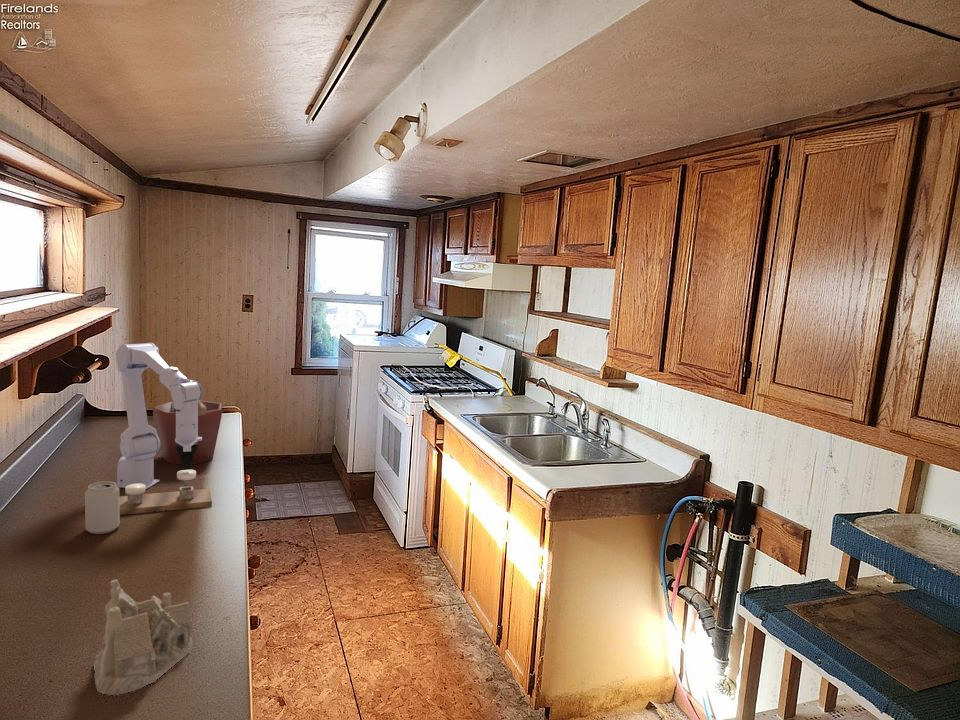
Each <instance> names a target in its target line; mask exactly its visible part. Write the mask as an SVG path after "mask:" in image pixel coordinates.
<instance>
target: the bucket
mask: <svg viewBox="0 0 960 720" xmlns="http://www.w3.org/2000/svg"><path fill="white" fill-rule="evenodd" d="M222 415H223V403H221V402H214V401H208V400H202V399H200V400H198V437H202V441H197V442H196V443H197V447H198V448H197V450H196V452H195V454H194V457H193V461H192V465H195V464H198V463H199V464H200V463H203V462H207V461H211V460H213V458H214V455H215V450H216V445H217V441H218V437H219V430H220V425H221V420H222ZM152 418H153V421H154V426H155V429H156V431H157V435H158V437H159V439H160V453H161V456H162V459H163V460H165V461H166V462H168V463H170V464H173V465H174V464H177V465H178V464H179V465H181V460H180V456H179V454H178V452H177V450H176V445H178V443H176V442H175V438H176V409H175V408H174V402H173V401H167V402H165V403H162V404H158V405H156V406H154V407H152Z"/></svg>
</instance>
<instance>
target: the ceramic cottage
mask: <svg viewBox="0 0 960 720" xmlns="http://www.w3.org/2000/svg"><path fill="white" fill-rule="evenodd" d="M110 587H111V588H110V596H111V599H110V600H109V601H107V603H106V604H105V606H104V612H105V616H106V623H105V632H104V633H105V634H104V635H103V637H102V646H101V650H100V651H99V653H98V654H97V655H95V658H94V661H93V666H94V668H93V672H94V671H95V673H94V684H95V688H96V689H97V690H96V691H97V692H98V693H99V692H101V693H104V694H108V695H107V696H110V695H109V694H111V695H114V694H121V693H124V692H129V691H132V690H136V689H139V688H141V687H144V686H145V687H147V686H146V685H148V684H150V683H153V682H154V681H156V679H158V678H159V677H160V676H161V675H163V674H164V673H165V672H166V671H167V670H168V669H169V668H170V667H172V666H173V665H175V664H176V663H177V662H179V660H180V659H182V658H183V657H184V656H186V655H187V654H188V653H189V654H190V653H191V652H192V651H193V650H192V648H193V649H194V647H193V646H194V640H193V638H192V636H191V635H192V631H193V630H192V629H193V627H194V625H193V619H192V614H191V607H190V604H189V601H186V602H182V603H177V604H174V605H172V595H171V592H164V593H163V595H162V600H161V599H160V598H159V597H157V596H156V595H154V594H153V595H152V596H151V597H150V599H147V600H144V601H140V602H137V601H135V600H134V599H133V598H132V597H131V596H130V595H128V594H127V593H126V592H125V591H124V589H123V588H121V585H120V582H119V580H118V579H117V578H116V579H112V580H111V581H110ZM191 650H192V651H191ZM190 651H191V652H190ZM189 654H188V655H189ZM188 655H187V656H188ZM187 656H186V657H187ZM184 658H185V657H184ZM184 658H183V659H184ZM183 659H182V660H183ZM179 663H180V662H179ZM177 664H178V663H177ZM177 664H176V665H177ZM176 665H175V666H176ZM172 668H173V667H172ZM163 676H164V675H163ZM158 680H159V679H158ZM156 682H157V681H156ZM153 684H154V683H153ZM148 686H149V685H148ZM145 687H144V688H145ZM101 693H100V694H101ZM114 696H115V695H114Z"/></svg>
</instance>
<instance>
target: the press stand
mask: <svg viewBox="0 0 960 720" xmlns="http://www.w3.org/2000/svg"><path fill="white" fill-rule="evenodd" d="M212 503H213V502H212V493H211V489H210V488H203V489H202V488H201V489H200V488H199V489H194V486H193V485H192V486H190V485H189V486H187V487H185V486H180V487H179V491H178V490H177V491H167V492H166V491H165V492H164V491H163V492H155V493H142V494H138V495H128V494H127V495H119V506H120V516H123V515H133V514H143V513H144V514H145V513H154V511H156V512H165V510H167V511H174V510H175V511H177V510H185V509H197V508H205V507H206V508H209V507H212V506H213V505H212Z"/></svg>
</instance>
